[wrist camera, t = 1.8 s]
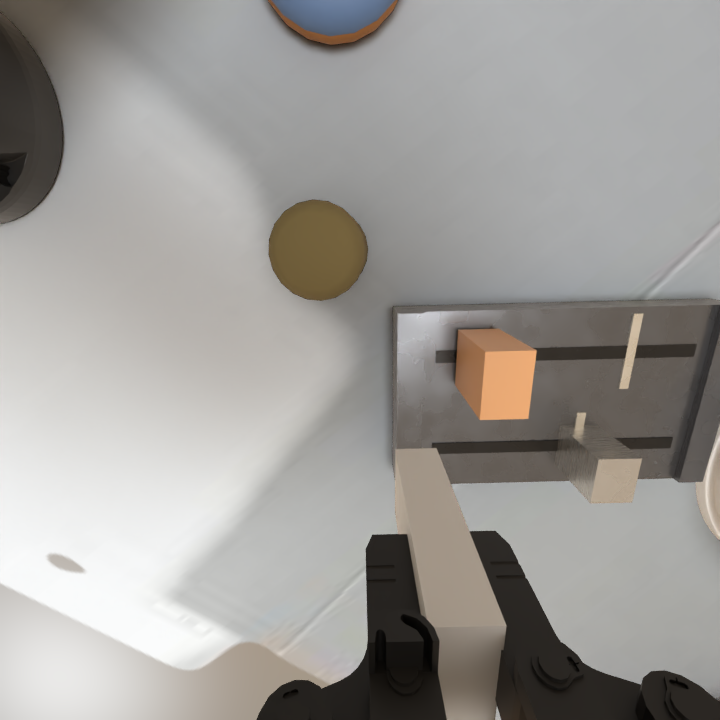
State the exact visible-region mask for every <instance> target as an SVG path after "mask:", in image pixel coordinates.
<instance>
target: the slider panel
mask: <svg viewBox="0 0 720 720" xmlns="http://www.w3.org/2000/svg"><path fill="white" fill-rule="evenodd" d="M464 329H500V330H502V331H504V332H505V333H507V334H509V335H511V336H512V337H514V338H516V339H518V340H519V341H521V342H523V343H525V344H526V345H528V346H530V347H532V348H533V349H535V350H537V352H536V360H535V368H534V376H533V384H532V393H531V401H530V409H529V417H528V419H503V420H479V418H478V417H477V415H476V414H475V413H474V411H473V410H472V408H471V407H470V406H469V404H468V403H467V401H466V400H465V399H464V397H463V396H462V394H461V393H460V392H459V390H458V389H457V387H456V386H455V376H456V359H457V341H458V330H464ZM719 424H720V300H715V299H673V300H632V301H591V302H550V303H509V304H468V305H427V306H393V457H392V465H393V472H394V478H395V449H420V448H437V451H438V453H439V456H440V458H441V461H442V463H443V466H444V468H445V471H446V473H447V476H448V478H449V481H450V484H458V483H499V482H539V481H570V482H571V483H572V484H573V485H574V486H575V487H576V488H577V489H578V490H579V491H580V493H581V494H582V495H583V496H584V497H585V498H586V499H587V500H588V501H589V502H590V503H625V502H632V500H633V496H634V492H635V487H636V483H637V479H660V478H674V479H675V480H676V481H678V482H703V479H704V475H705V472H706V469H707V465H708V462H709V458H710V455H711V452H712V448H713V445H714V441H715V438H716V435H717V431H718V428H719Z"/></svg>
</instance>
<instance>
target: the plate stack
mask: <svg viewBox="0 0 720 720" xmlns="http://www.w3.org/2000/svg"><path fill="white" fill-rule="evenodd" d="M696 495H697V501H698V505H699V509H700V512H701V514H702V517H703V519H704V521H705V523H706V524H707V526H708V527H709V529H710V530H711V532H712V533H713V534H714V535H715V536H716V537H717V539H719V540H720V424H719V428H718V431H717V435H716V438H715V441H714V445H713V448H712V452H711V455H710V458H709V462H708V465H707V469H706V472H705V475H704V479H703V482H696Z"/></svg>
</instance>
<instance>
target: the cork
mask: <svg viewBox="0 0 720 720" xmlns="http://www.w3.org/2000/svg"><path fill="white" fill-rule="evenodd" d="M367 253H368V246H367V241H366V236H365V234H364V232H363V231H362V229H361V227H360V225H359V224H358V223H357V222H356V221H355V219H353V218H352V217H351V216H350V215H349V214H348V213H347V212H346V211H345V210H344V209H343V208H341V207H339V206H337V205H335V204H333V203H331V202H329V201H320V200H309V201H305V202H300V203H297V204H295V205H294V206H292V207H291V208H289V209H287V210H286V211H284V213H283V214H282V215H281V216H280V218H279V219H278V220H277V221H276V223H275V224H274V227H273V230H272V233H271V235H270V238H269V257H270V261H271V265H272V268H273V271H274V272H275V274H276V276H277V277H278V279H279V280H280V282H281V283H282V284H283V285H284V286H285V287H286V288H287V289H289V290H290V291H291V292H292V293H294V294H296V295H298V296H300V297H303V298H305V299H310V300H320V301H322V300H326V299H331V298H335V297H337V296H339V295H341V294H342V293H344V292H346V291H347V290H349V288H350V287H351V286H352V285H353V284H354V283H355V282H356V280H357V279H358V277H359V275H360V274H361V272H362V271H363V268H364V266H365V264H366V261H367Z"/></svg>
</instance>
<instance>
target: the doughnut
mask: <svg viewBox="0 0 720 720" xmlns="http://www.w3.org/2000/svg"><path fill="white" fill-rule="evenodd" d="M268 1H269V3H270V4H271V5H272V7H273V8H274V9H275V10H276V12H277V13H278V14H279V15H280V17H281V18H282V19H283V21H284V22H285V23H286V24H287V25H288V26H289V27H291V28H292V29H294V30H295V31H297V32H298V33H300V34H301V35H303V36H304V37H306V38H307V39H310V40H314V41H318V42H322V43H326V44H330V45H334V44H341V43H349V42H355V41H356V40H358V39H360V38H362V37H364V36H365V35H367V34H369V33H371V32H373V31H375V30H376V29H377V28H378V27H379V25H380V24H381V23H382V22H383V21H384V20H385V19H386V18H387V17H388V16H389V14H390V13H391V12H392V11H393V10H394V8H395V5H396V3H397V1H398V0H268Z"/></svg>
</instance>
